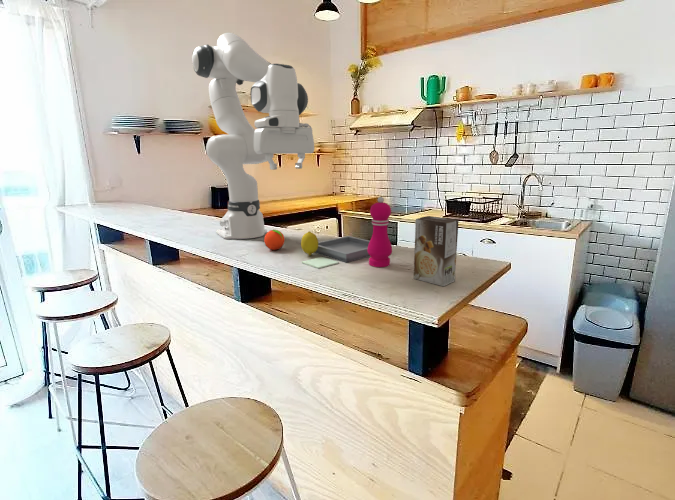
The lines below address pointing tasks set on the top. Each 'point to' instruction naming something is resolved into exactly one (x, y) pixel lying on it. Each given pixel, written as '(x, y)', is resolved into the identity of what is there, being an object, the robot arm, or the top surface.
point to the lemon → (309, 243)
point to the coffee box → (435, 250)
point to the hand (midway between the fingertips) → (286, 169)
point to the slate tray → (344, 248)
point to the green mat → (320, 262)
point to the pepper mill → (380, 235)
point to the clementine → (274, 239)
